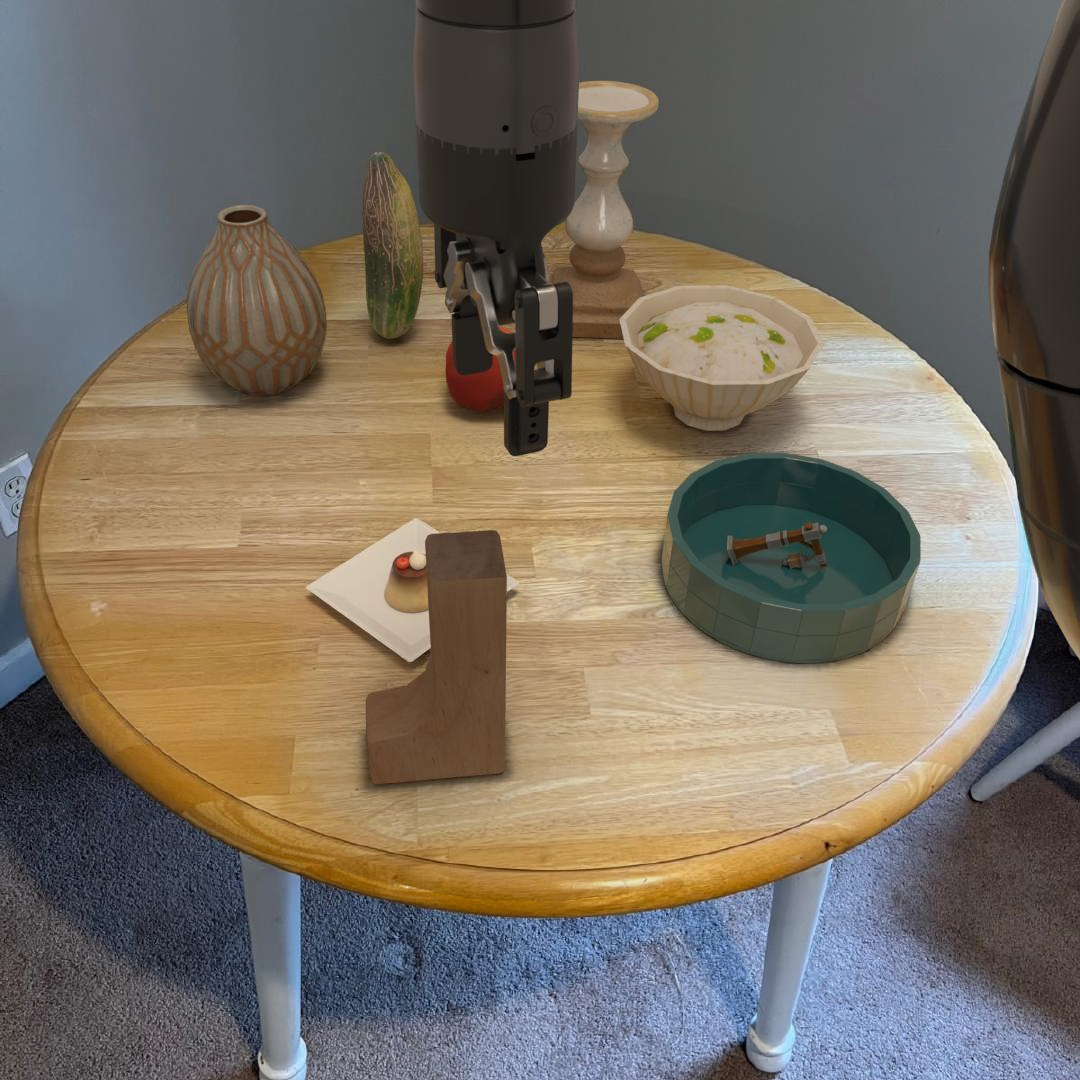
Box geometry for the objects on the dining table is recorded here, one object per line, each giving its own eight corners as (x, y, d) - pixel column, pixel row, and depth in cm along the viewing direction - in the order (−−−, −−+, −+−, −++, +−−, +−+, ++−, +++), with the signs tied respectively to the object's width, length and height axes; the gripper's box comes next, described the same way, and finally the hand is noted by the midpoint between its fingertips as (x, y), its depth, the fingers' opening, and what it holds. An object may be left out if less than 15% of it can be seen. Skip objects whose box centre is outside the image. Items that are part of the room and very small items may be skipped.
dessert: (306, 597, 87) (299, 551, 83) (416, 527, 94) (413, 482, 90) (410, 673, 81) (407, 626, 78) (520, 592, 88) (521, 546, 85)
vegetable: (407, 317, 122) (397, 137, 109) (439, 339, 118) (432, 156, 105) (360, 333, 119) (344, 149, 106) (391, 357, 115) (379, 170, 102)
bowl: (584, 375, 113) (589, 287, 107) (752, 349, 118) (766, 263, 112) (657, 483, 99) (668, 389, 93) (844, 449, 104) (866, 357, 98)
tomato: (505, 366, 114) (505, 297, 109) (552, 408, 108) (555, 337, 103) (426, 390, 110) (422, 319, 105) (471, 435, 104) (470, 362, 99)
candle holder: (644, 339, 119) (666, 117, 104) (544, 336, 119) (551, 113, 104) (640, 292, 127) (660, 80, 112) (546, 289, 128) (553, 76, 112)
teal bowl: (954, 627, 86) (974, 575, 82) (734, 690, 80) (745, 637, 77) (819, 484, 100) (830, 434, 96) (623, 530, 94) (628, 478, 90)
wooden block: (370, 787, 73) (347, 587, 61) (370, 734, 76) (347, 536, 64) (505, 775, 74) (507, 576, 62) (498, 724, 77) (499, 526, 66)
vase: (239, 429, 104) (208, 258, 93) (178, 371, 112) (143, 207, 100) (357, 385, 111) (341, 220, 99) (292, 333, 118) (271, 175, 107)
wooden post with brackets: (838, 569, 89) (825, 527, 86) (741, 587, 92) (726, 547, 89) (837, 555, 90) (824, 513, 88) (742, 573, 93) (726, 533, 90)
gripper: (377, 74, 54) (397, 359, 65) (469, 179, 44) (476, 496, 55) (517, 60, 57) (516, 337, 67) (636, 157, 47) (612, 466, 57)
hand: (498, 408), depth 61 cm, fingers open, 8 cm apart
